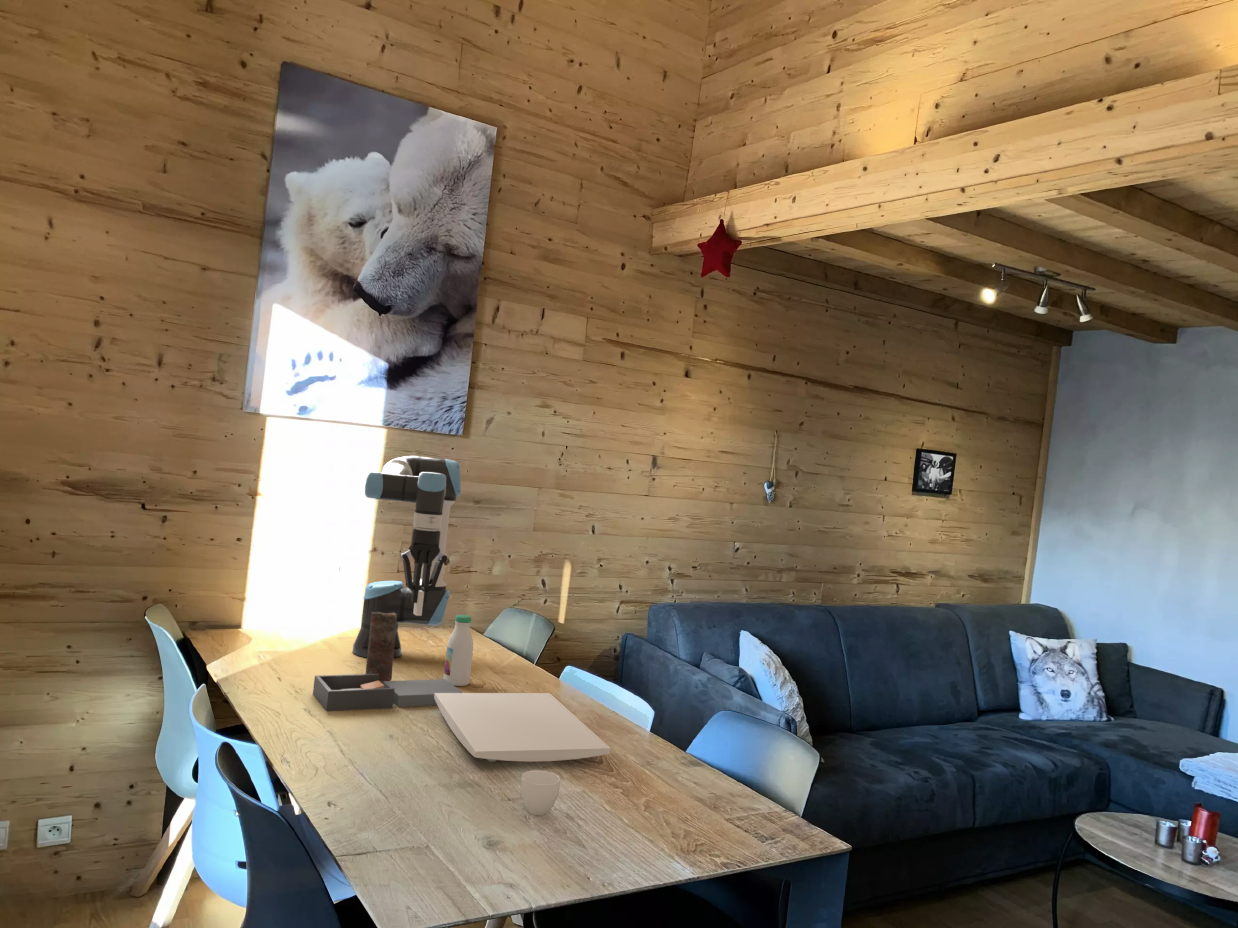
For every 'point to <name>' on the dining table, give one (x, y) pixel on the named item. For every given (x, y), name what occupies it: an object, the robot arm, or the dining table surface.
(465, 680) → the milk bottle
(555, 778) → the cup
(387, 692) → the box
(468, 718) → the board
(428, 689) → the slate board
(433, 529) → the robot arm
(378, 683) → the tile terracotta
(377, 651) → the candle
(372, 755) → the dining table surface
